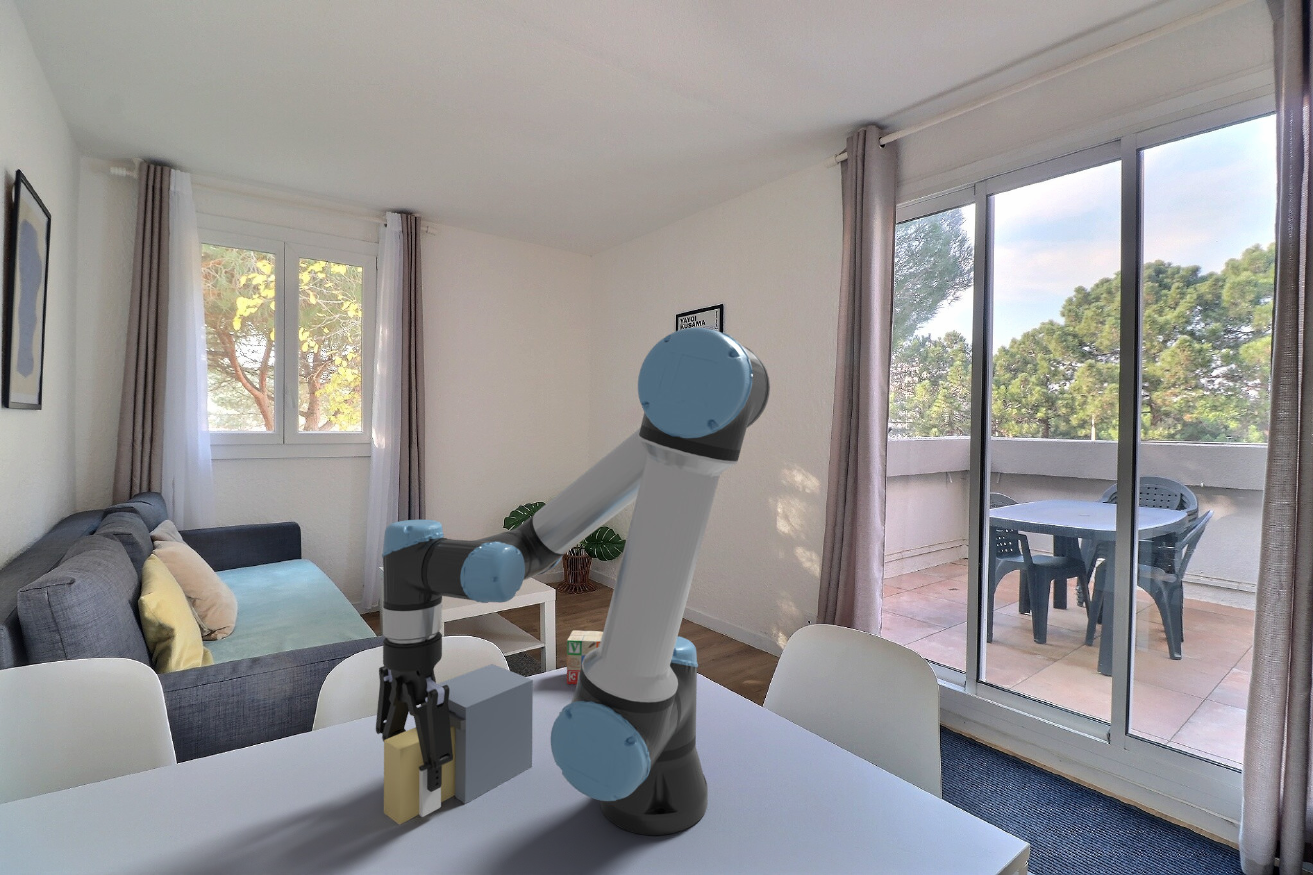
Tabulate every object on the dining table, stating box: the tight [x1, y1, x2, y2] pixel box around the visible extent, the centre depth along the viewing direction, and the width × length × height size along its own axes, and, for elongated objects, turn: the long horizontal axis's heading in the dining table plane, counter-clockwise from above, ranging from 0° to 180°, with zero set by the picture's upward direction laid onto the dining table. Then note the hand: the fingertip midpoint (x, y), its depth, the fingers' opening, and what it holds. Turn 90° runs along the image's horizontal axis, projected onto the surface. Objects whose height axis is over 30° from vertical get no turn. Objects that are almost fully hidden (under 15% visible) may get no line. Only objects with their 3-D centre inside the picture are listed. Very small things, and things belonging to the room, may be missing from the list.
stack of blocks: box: [566, 630, 603, 685], centre depth 127 cm, size 21×6×12 cm, turn 86°
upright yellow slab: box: [383, 712, 456, 826], centre depth 87 cm, size 4×14×10 cm, turn 142°
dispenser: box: [420, 663, 534, 805], centre depth 92 cm, size 10×13×14 cm
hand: (412, 798), depth 84 cm, fingers open, 8 cm apart
